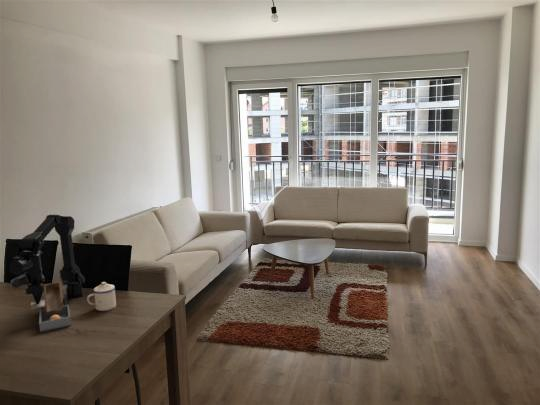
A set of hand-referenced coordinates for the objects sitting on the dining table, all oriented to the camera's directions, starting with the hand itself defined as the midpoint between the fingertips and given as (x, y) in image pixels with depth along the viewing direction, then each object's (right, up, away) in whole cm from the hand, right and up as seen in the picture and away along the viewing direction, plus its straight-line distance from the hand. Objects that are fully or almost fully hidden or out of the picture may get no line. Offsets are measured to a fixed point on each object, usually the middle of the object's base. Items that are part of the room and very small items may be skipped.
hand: (37, 303), depth 177 cm
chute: (0, -3, +9) cm, 9 cm away
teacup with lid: (+22, -5, +13) cm, 26 cm away
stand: (+2, -6, +10) cm, 12 cm away
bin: (+7, -8, 0) cm, 11 cm away
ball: (+9, -6, -3) cm, 11 cm away
